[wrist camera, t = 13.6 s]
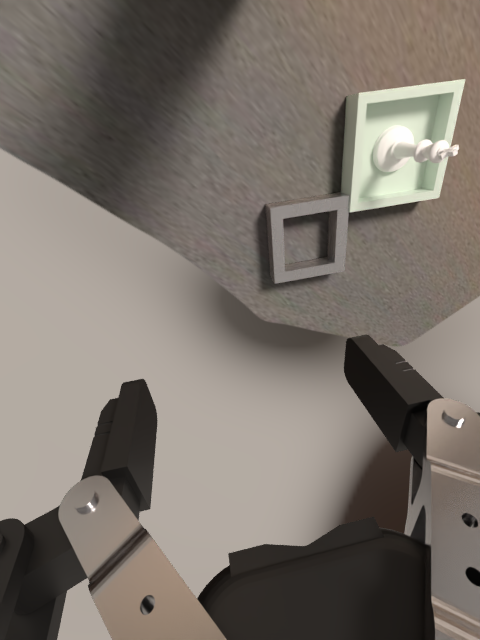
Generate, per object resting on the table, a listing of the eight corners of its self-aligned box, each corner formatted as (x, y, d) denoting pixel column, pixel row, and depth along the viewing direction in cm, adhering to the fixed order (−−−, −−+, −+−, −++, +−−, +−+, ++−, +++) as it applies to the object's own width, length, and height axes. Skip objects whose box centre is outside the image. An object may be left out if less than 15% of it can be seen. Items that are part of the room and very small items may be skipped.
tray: (346, 96, 33) (358, 93, 31) (445, 83, 34) (465, 79, 32) (339, 208, 40) (349, 212, 37) (424, 194, 41) (439, 197, 38)
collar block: (265, 204, 38) (270, 207, 36) (340, 192, 39) (349, 195, 37) (270, 276, 43) (274, 283, 41) (336, 264, 44) (344, 271, 42)
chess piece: (414, 157, 38) (482, 162, 29) (378, 180, 38) (435, 191, 30) (406, 116, 35) (477, 108, 27) (367, 141, 36) (425, 142, 27)
